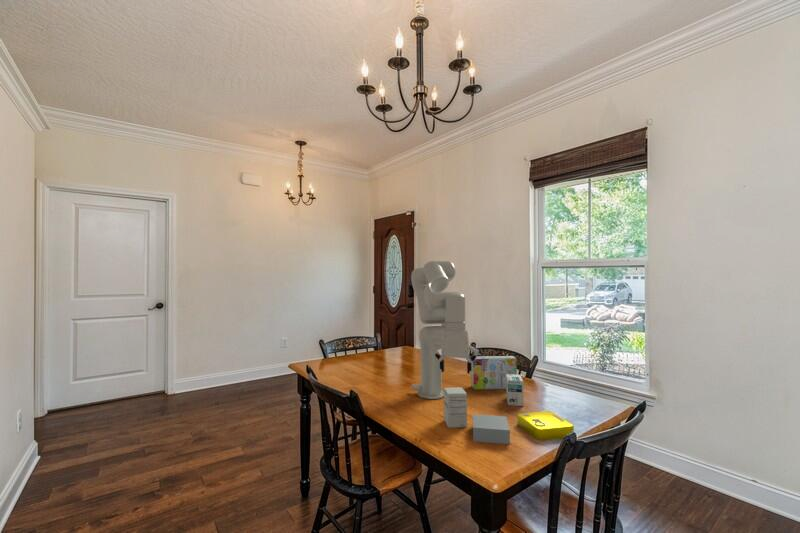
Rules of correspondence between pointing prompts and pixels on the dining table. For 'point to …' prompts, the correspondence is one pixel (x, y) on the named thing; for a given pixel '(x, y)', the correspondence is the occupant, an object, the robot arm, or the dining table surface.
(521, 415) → the element tile
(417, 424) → the dining table surface
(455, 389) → the supplement box
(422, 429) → the dining table surface
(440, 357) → the robot arm
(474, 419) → the grey block
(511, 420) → the dining table surface
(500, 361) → the snack box
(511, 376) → the light bulb box
